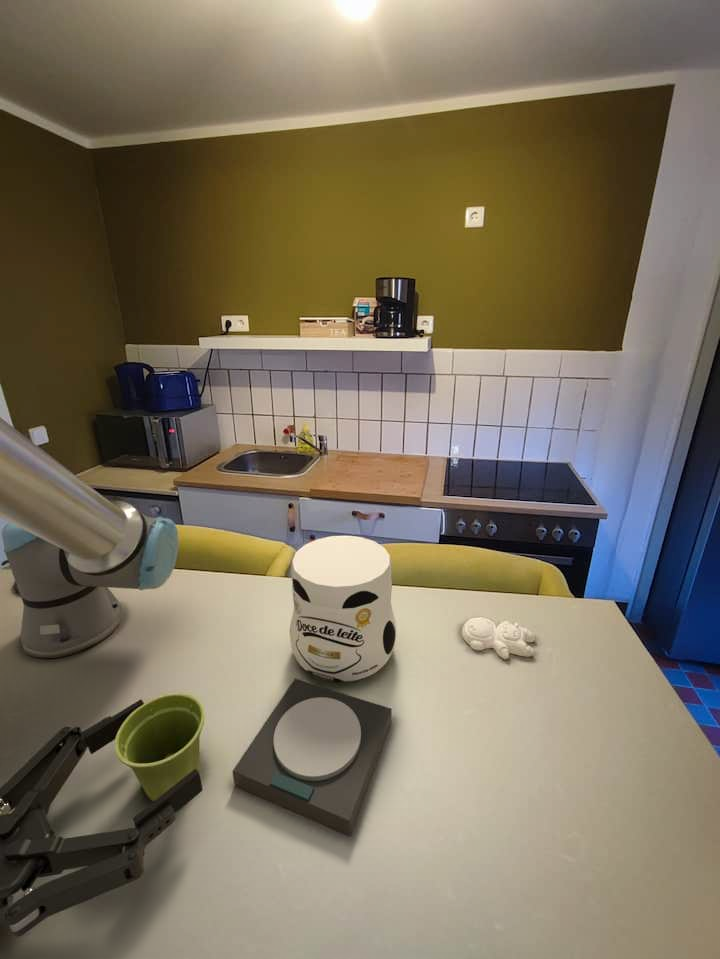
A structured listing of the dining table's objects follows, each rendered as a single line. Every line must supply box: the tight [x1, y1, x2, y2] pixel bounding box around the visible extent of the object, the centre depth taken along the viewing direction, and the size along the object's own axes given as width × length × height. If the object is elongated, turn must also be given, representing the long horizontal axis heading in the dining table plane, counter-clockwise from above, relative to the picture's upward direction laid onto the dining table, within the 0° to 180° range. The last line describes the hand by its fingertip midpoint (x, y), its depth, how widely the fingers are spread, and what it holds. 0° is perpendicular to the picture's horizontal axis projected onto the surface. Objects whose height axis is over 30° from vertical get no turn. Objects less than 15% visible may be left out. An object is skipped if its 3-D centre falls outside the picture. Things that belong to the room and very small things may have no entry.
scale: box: [231, 677, 393, 837], centre depth 55 cm, size 15×15×3 cm
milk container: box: [289, 535, 397, 684], centre depth 69 cm, size 17×17×18 cm
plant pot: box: [114, 692, 206, 802], centre depth 50 cm, size 9×9×9 cm
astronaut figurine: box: [461, 616, 536, 660], centre depth 74 cm, size 9×12×3 cm
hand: (169, 740), depth 50 cm, fingers open, 13 cm apart
